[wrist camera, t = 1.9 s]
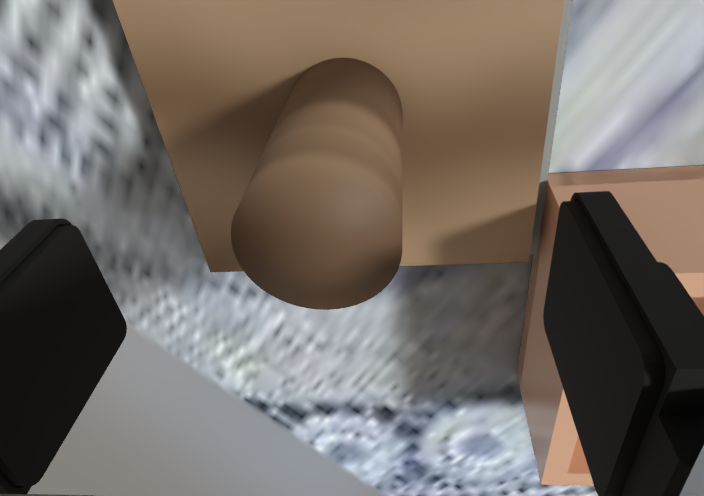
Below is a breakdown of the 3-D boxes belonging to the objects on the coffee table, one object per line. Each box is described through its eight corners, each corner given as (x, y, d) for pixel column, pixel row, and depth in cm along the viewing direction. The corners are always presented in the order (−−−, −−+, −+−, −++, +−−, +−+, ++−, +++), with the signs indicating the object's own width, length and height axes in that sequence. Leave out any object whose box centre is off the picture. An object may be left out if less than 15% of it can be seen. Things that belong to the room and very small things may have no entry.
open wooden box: (544, 173, 16) (589, 275, 12) (895, 155, 15) (1069, 262, 11) (516, 373, 22) (541, 484, 18) (765, 372, 21) (848, 491, 17)
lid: (98, -100, 12) (-148, -61, 7) (573, -163, 11) (745, -178, 5) (218, 254, 19) (143, 419, 13) (523, 243, 18) (578, 422, 12)
